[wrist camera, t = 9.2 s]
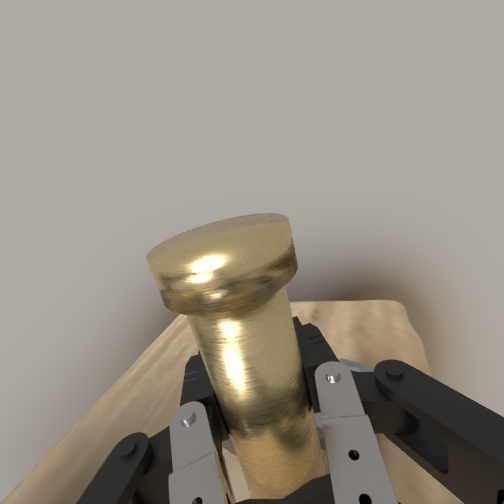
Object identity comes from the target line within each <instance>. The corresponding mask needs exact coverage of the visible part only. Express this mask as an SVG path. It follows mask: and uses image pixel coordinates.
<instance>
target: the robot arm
mask: <svg viewBox="0 0 504 504" xmlns="http://www.w3.org/2000/svg"><path fill="white" fill-rule="evenodd" d="M292 318H293V323H294V328H295V332H296V337H297V341H298V346H299V350H300V355H301V360H302V365H303V370H304V374H305V379H306V384H307V388H308V393H309V397H310V402H311V406H312V409H313V411H314V414H316V413H319V412H321V416H322V418H321V419H322V426H323V432H324V438H325V444H326V450H327V457H328V463H329V469H330V474H327V475H324V476H321V477H318V478H315V479H312V480H310V481H309V482H307V483H306V484H304V485H303V486H301V487H300V488H298V489H297V490H295V491H294V492H292V493H291V494H289V495H288V496H286V497H284V498H282V499H247V500H244V501H241V502H238V503H236V501H235V498H234V494H233V490H232V486H231V483H230V479H229V475H228V471H227V468H226V464H225V460H224V457H223V454H222V441H225V440H228V439H229V431H228V429H227V426H226V423H225V420H224V417H223V415H222V412H221V409H220V406H219V403H218V401H217V398H216V395H215V392H214V389H213V387H212V384H211V381H210V378H209V376H208V373H207V370H206V367H205V364H204V362H203V359H202V356H201V353H200V350H199V354H198V355H195V356H192V357H191V358H190V359H189V361H188V362H187V364H186V367H185V375H184V382H183V388H182V395H181V403H180V407H179V408H178V409H177V410H176V411H175V412H174V414H173V415H172V417H171V419H170V424H169V426H168V427H167V428H165V429H164V430H162V431H161V432H159V433H157V434H156V435H154V436H152V437H151V438H149V439H148V437H147V435H146V434H144V433H141V432H137V433H133V434H131V435H128V436H127V437H125V438H124V439H122V440H121V441H120V442H119V443H118V444H117V445H116V446H115V447H114V449H113V450H112V452H111V453H110V455H109V456H108V457H107V459H106V460H105V462H104V463H103V465H102V466H101V468H100V469H99V471H98V472H97V474H96V475H95V477H94V478H93V480H92V481H91V483H90V484H89V485H88V487H87V488H86V490H85V491H84V493H83V494H82V496H81V497H80V499H79V500H78V502H77V503H76V504H401V503H399V502H398V501H397V498H396V496H395V493H394V490H393V487H392V484H391V481H390V478H389V475H388V472H387V469H386V466H385V463H384V460H383V457H382V454H381V452H380V449H379V446H378V443H377V440H376V437H375V434H374V433H384V435H385V436H386V437H387V438H388V439H389V440H391V441H392V442H393V443H394V444H395V445H396V446H398V447H399V448H400V449H401V450H402V451H403V452H405V453H406V454H407V455H408V456H409V457H411V458H412V459H413V460H414V461H415V462H416V463H418V464H419V465H420V466H421V467H422V468H423V469H425V470H426V471H427V472H428V473H429V474H431V475H432V476H433V477H434V478H435V479H436V480H438V481H439V482H440V483H441V484H442V485H443V486H445V487H446V488H447V489H448V490H449V491H451V492H452V493H453V494H454V495H455V496H456V497H458V498H459V499H460V500H461V501H462V502H464V503H465V504H504V417H502V416H500V415H499V414H497V413H495V412H493V411H491V410H490V409H488V408H486V407H484V406H482V405H480V404H479V403H477V402H475V401H473V400H471V399H470V398H468V397H466V396H464V395H463V394H461V393H459V392H457V391H455V390H453V389H452V388H450V387H448V386H446V385H444V384H443V383H441V382H439V381H437V380H435V379H434V378H432V377H430V376H428V375H426V374H425V373H423V372H421V371H419V370H417V369H416V368H414V367H412V366H410V365H408V364H407V363H404V362H402V361H399V360H384V361H381V362H380V363H378V364H377V365H376V366H375V369H374V372H357V371H352V370H350V369H349V368H348V367H347V366H346V365H344V364H342V363H340V362H339V360H338V359H337V357H336V356H335V354H334V352H333V351H332V349H331V348H330V346H329V344H328V343H327V341H326V340H325V338H324V337H323V335H322V333H321V332H320V330H319V329H318V328H317V327H316V326H314V325H312V324H311V323H309V324H305V325H302V324H301V322H300V321H299V319H298V317H297V316H296V317H292Z"/></svg>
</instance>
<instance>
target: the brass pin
mask: <svg viewBox="0 0 504 504" xmlns="http://www.w3.org/2000/svg"><path fill="white" fill-rule="evenodd" d="M146 259H147V261H148V264H149V267H150V269H151V272H152V275H153V277H154V280H155V282H156V285H157V288H158V290H159V293H160V296H161V298H162V301H163V303H164V305H165V307H166V308H167V309H169V310H171V311H173V312H175V313H179V314H184V315H187V317H188V320H189V322H190V325H191V328H192V331H193V334H194V336H195V339H196V342H197V345H198V348H199V350H200V353H201V356H202V359H203V362H204V364H205V367H206V370H207V373H208V376H209V378H210V381H211V384H212V387H213V389H214V392H215V395H216V398H217V401H218V403H219V406H220V409H221V412H222V415H223V417H224V420H225V423H226V426H227V429H228V431H229V434H230V437H231V440H232V443H233V446H234V448H235V451H236V454H237V457H238V460H239V462H240V465H241V468H242V471H243V474H244V477H245V479H246V482H247V485H248V488H249V491H250V493H251V496H252V499H282V498H284V497H286V496H288V495H289V494H291V493H292V492H294V491H295V490H297V489H298V488H300V487H301V486H303V485H304V484H306V483H307V482H309V481H310V480H312V479H315V478H318V477H321V476H324V475H327V474H326V469H325V465H324V460H323V456H322V451H321V447H320V442H319V437H318V433H317V428H316V424H315V419H314V414H313V410H312V406H311V402H310V397H309V393H308V388H307V384H306V379H305V374H304V370H303V365H302V360H301V355H300V350H299V346H298V341H297V337H296V332H295V328H294V323H293V318H292V314H291V309H290V305H289V300H288V296H287V291H286V287H285V285H286V284H287V283H288V282H289V281H290V280H291V279H292V278H293V277H294V275H295V274H296V271H297V269H298V263H297V258H296V253H295V248H294V243H293V238H292V233H291V228H290V223H289V218H288V217H286V216H284V215H281V214H273V213H263V214H252V215H246V216H239V217H234V218H229V219H225V220H221V221H217V222H213V223H209V224H206V225H203V226H200V227H197V228H194V229H191V230H188V231H186V232H183V233H181V234H178V235H176V236H174V237H172V238H169V239H168V240H166V241H164V242H162V243H160V244H159V245H157V246H156V247H154V248H153V249H152V250H151V251H150V252H149V253H148V254H147V257H146Z"/></svg>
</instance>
